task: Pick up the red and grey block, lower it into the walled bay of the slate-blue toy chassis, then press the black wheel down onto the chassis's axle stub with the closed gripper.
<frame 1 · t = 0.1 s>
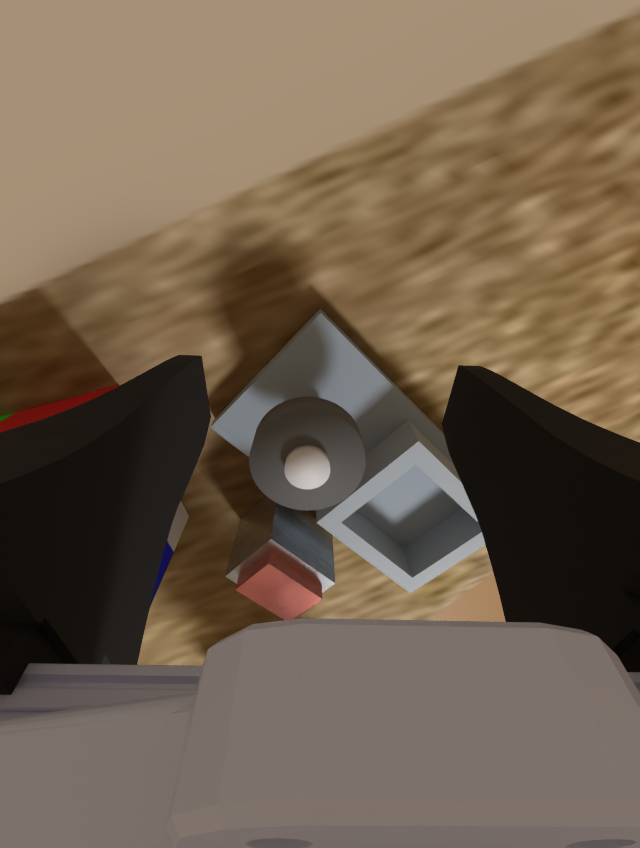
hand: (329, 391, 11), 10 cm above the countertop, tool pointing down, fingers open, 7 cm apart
wheel: (307, 457, 18), point 6 cm above the countertop, slide at 2.5 cm
chassis: (365, 456, 24), on the countertop
puzzle toy: (87, 471, 25), on the countertop
red and grey block: (286, 521, 27), on the countertop
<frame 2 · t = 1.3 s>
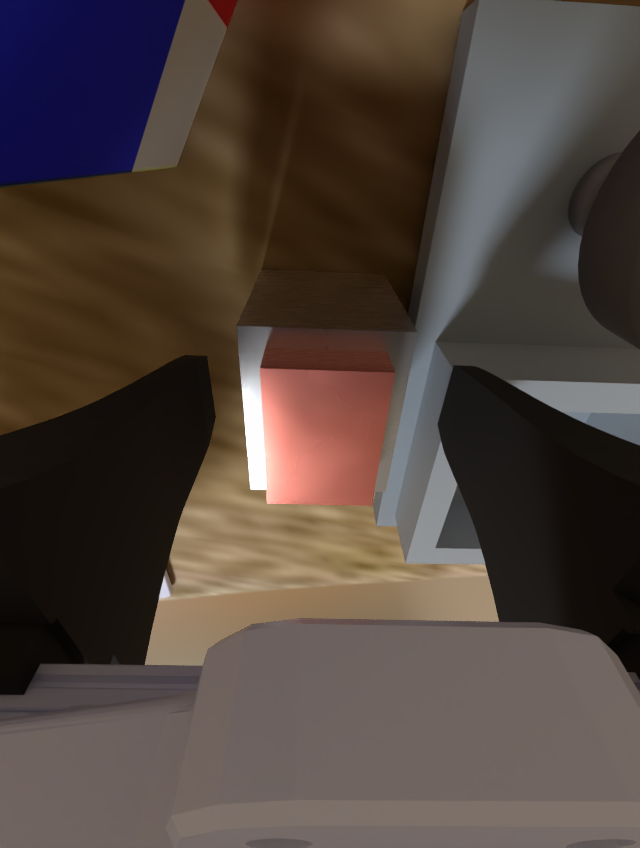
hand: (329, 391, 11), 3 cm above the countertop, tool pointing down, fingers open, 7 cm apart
chassis: (522, 350, 14), on the countertop
red and grey block: (319, 342, 14), on the countertop
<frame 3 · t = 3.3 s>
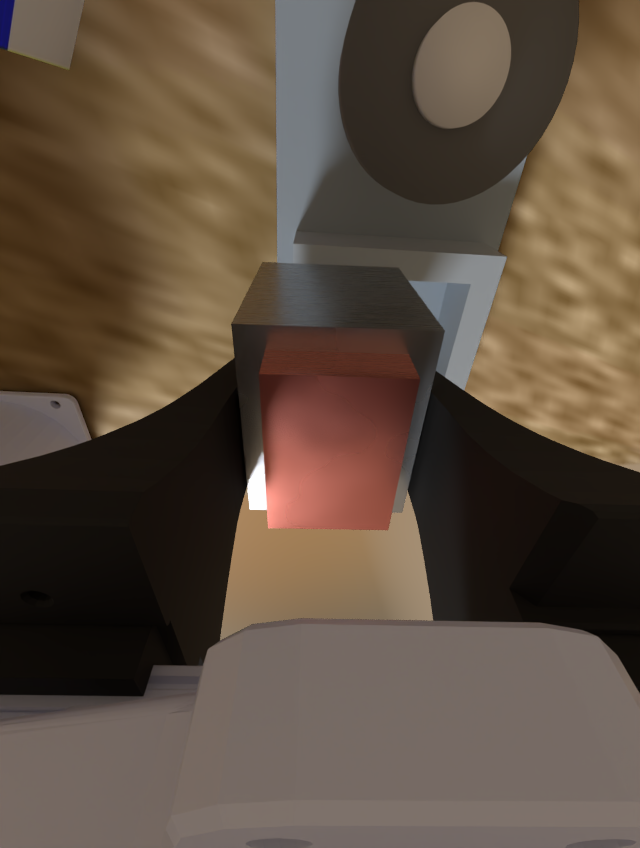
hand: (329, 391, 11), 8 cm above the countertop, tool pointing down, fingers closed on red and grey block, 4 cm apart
wheel: (449, 76, 9), point 6 cm above the countertop, slide at 2.5 cm
chassis: (382, 250, 17), on the countertop
red and grey block: (326, 344, 13), point 6 cm above the countertop, touching gripper
when the fingers open (5 cm above the countertop, at t = 4.6 s): red and grey block stays where it is, resting on chassis.
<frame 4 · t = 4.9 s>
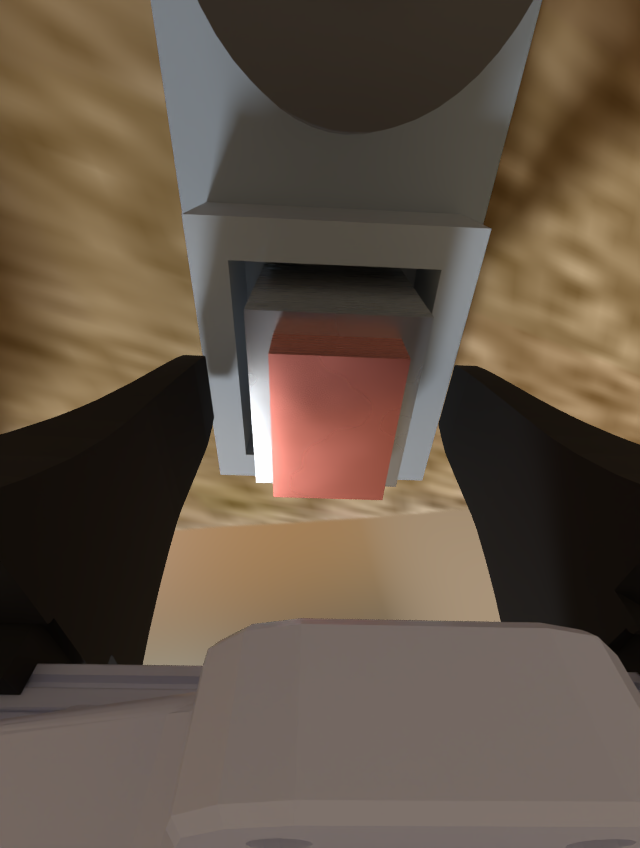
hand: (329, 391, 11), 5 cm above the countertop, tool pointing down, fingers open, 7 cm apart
chassis: (331, 229, 13), on the countertop
red and grey block: (327, 332, 14), point 1 cm above the countertop, touching chassis
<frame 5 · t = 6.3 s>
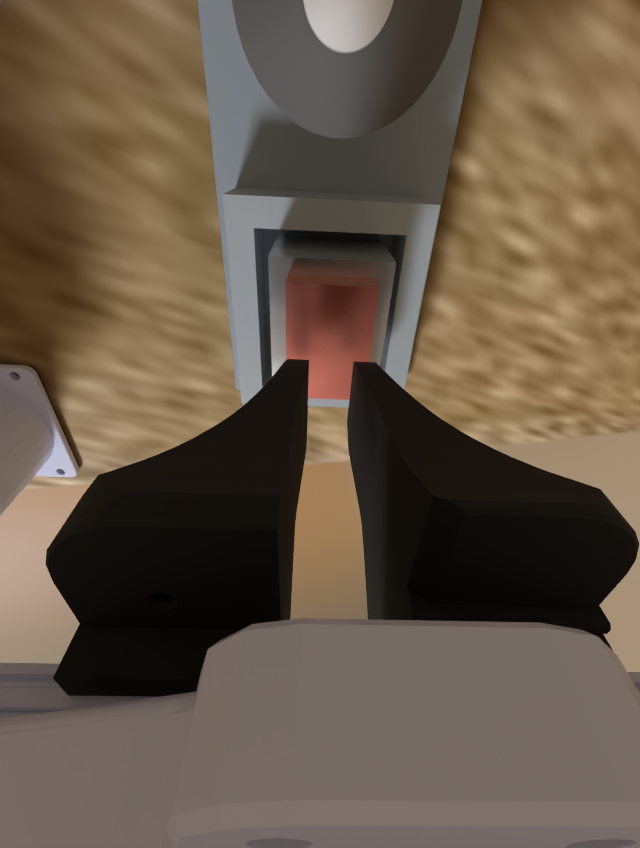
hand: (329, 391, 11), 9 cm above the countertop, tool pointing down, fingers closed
wheel: (346, 0, 9), point 6 cm above the countertop, slide at 2.5 cm
chassis: (328, 210, 17), on the countertop
red and grey block: (325, 291, 17), point 1 cm above the countertop, touching chassis
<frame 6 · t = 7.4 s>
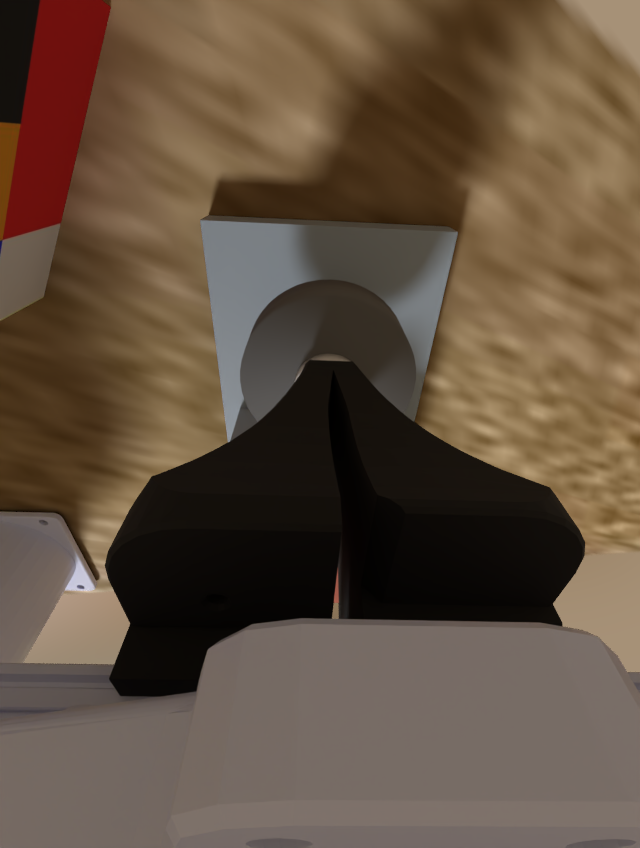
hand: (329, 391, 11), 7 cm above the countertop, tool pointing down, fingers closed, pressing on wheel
wheel: (327, 375, 12), point 6 cm above the countertop, slide at 2.3 cm, touching gripper
chassis: (319, 409, 19), on the countertop
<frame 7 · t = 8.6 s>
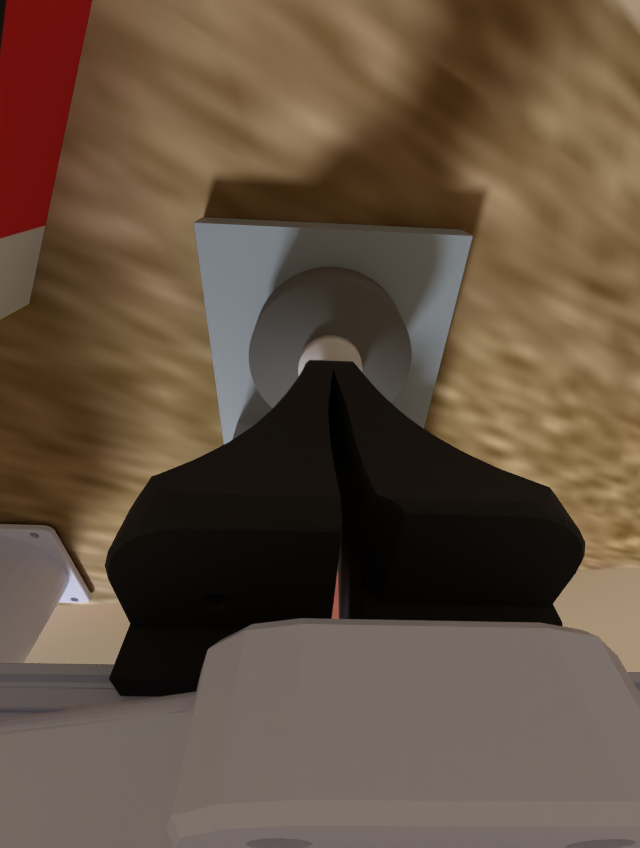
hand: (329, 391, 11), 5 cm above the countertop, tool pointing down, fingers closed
wheel: (329, 356, 13), point 3 cm above the countertop, slide at 0.0 cm
chassis: (322, 421, 18), on the countertop
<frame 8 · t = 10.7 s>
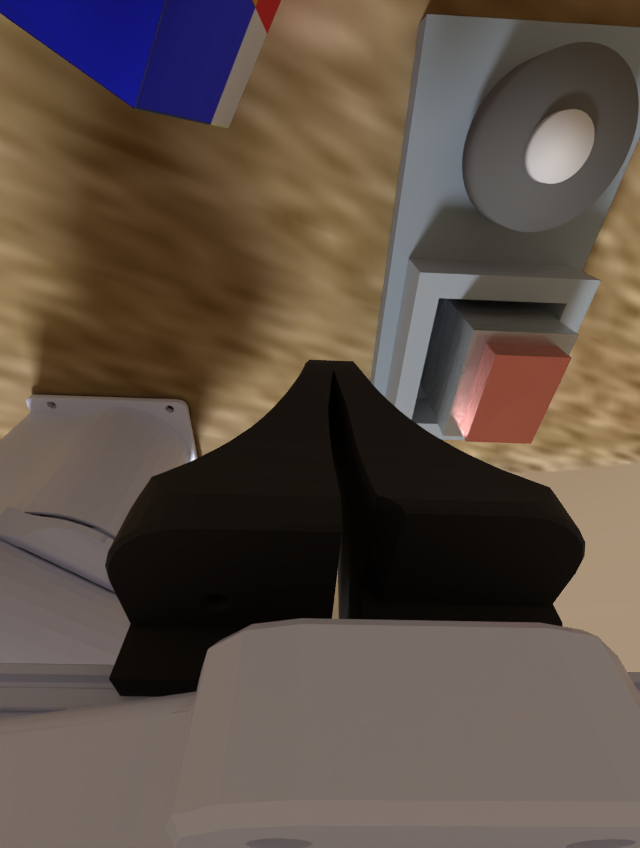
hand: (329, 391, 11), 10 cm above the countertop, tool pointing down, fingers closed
wheel: (546, 148, 13), point 3 cm above the countertop, slide at 0.0 cm
chassis: (475, 271, 19), on the countertop
red and grey block: (466, 340, 20), point 1 cm above the countertop, touching chassis
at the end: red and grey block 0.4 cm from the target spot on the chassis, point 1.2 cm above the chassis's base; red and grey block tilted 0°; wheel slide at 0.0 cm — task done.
